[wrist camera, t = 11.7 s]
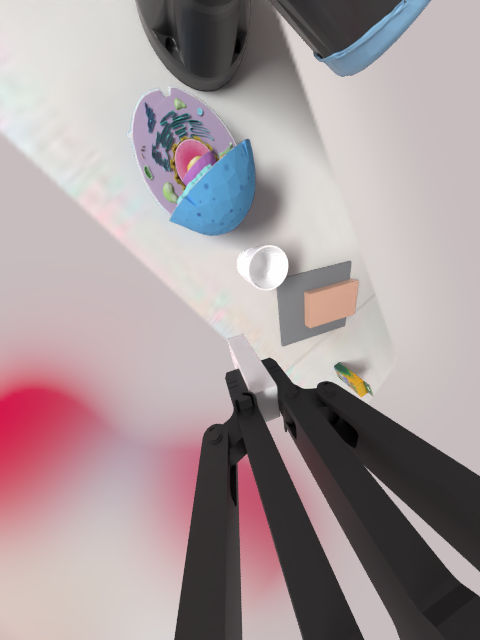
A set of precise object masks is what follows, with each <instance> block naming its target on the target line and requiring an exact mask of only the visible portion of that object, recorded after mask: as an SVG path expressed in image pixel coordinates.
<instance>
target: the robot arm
mask: <svg viewBox="0 0 480 640" xmlns="http://www.w3.org/2000/svg"><path fill="white" fill-rule="evenodd" d="M135 1H136V5H137V9H138V13H139V16H140V20H141V23H142V25H143V28H144V31H145V33H146V35H147V37H148V39H149V42H150V43H151V45H152V47H153V49H154V51H155V52H156V54H157V55H158V57H159V58H160V60H161V61H162V63H163V64H164V65H165V66H166V68H167V69H168V70H169V71H170V72H171V73H172V74H173V75H174V76H175V77H176V78H178V79H179V80H180V81H182V82H183V83H185V84H186V85H188V86H190V87H192V88H195V89H198V90H204V91H209V90H215V89H218V88H220V87H222V86H224V85H225V84H226V83H227V82H229V81H230V79H231V78H232V77H233V76H234V74H235V73H236V71H237V69H238V67H239V64H240V62H241V59H242V56H243V52H244V49H245V45H246V42H247V37H248V31H249V23H250V0H135ZM269 1H270V3H271V4H272V5H273V6H274V7H275V8H276V9H277V11H278V12H279V13H280V14H281V15H282V16H283V17H284V19H285V20H286V21H287V22H288V23H289V24H290V25H291V26H292V28H293V29H294V30H295V31H296V32H297V33H298V34H299V36H300V37H301V38H302V39H303V40H304V41H305V42H306V44H307V45H308V46H309V47H310V48H311V49H312V50H313V53H314V56H315V57H316V59H317V60H319V61H321V62H324V63H325V64H326V65H328V66H329V68H331V70H333V72H334V73H336V74H337V75H339V76H342V77H343V76H349V75H350V76H351V75H354V74H356V73H358V72H360V71H362V70H363V69H365V68H366V67H368V66H369V65H370V64H372V63H373V62H374V61H375V60H377V59H378V58H379V57H380V56H381V55H382V54H383V53H384V52H385V51H386V50H387V49H388V48H389V47H390V46H391V45H392V44H393V43H394V42H396V41H397V39H398V38H399V37H400V36H401V35H402V34H403V33H404V32H405V31H406V30H407V29H408V27H409V26H410V25H411V24H412V23H413V22H414V20H415V19H416V18H417V17H418V16H419V15H420V13H421V12H422V11H423V10H424V9H425V7H426V6H427V5H428V3H429V2H430V1H431V0H269ZM228 343H229V347H230V351H231V355H232V360H233V363H234V366H235V368H236V370H233V371H230V372H227V373H226V378H225V379H226V383H227V386H228V389H229V393H230V397H231V400H232V403H233V407H234V412H233V414H232V416H231V418H230V419H229V420H228V421H227V422H225V423H224V424H223V425H222V424H214V425H212V426H210V427H209V428H208V429H207V430H206V432H205V433H204V436H203V441H202V447H201V455H200V461H199V469H198V476H197V483H196V491H195V497H194V504H193V511H192V518H191V526H190V532H189V539H188V546H187V554H186V561H185V568H184V575H183V582H182V590H181V596H180V603H179V610H178V618H177V625H176V632H175V639H174V640H242V612H241V578H240V577H241V576H240V575H241V574H240V539H239V503H238V471H237V470H238V468H237V467H238V466H237V463H238V462H239V461H240V459H242V458H243V457H244V456H245V455H246V454H248V458H249V461H250V464H251V468H252V471H253V475H254V477H255V481H256V485H257V488H258V491H259V495H260V498H261V501H262V505H263V508H264V511H265V514H266V518H267V521H268V524H269V528H270V531H271V535H272V538H273V541H274V545H275V548H276V552H277V555H278V558H279V562H280V565H281V568H282V572H283V575H284V578H285V582H286V585H287V588H288V592H289V595H290V598H291V602H292V605H293V608H294V612H295V615H296V618H297V622H298V625H299V629H300V632H301V635H302V639H303V640H364V638H363V636H362V634H361V632H360V629H359V627H358V625H357V623H356V621H355V618H354V616H353V614H352V612H351V610H350V607H349V605H348V603H347V601H346V599H345V596H344V594H343V592H342V590H341V588H340V586H339V583H338V581H337V579H336V577H335V574H334V572H333V570H332V568H331V566H330V564H329V561H328V559H327V557H326V555H325V552H324V550H323V548H322V546H321V544H320V541H319V539H318V537H317V535H316V533H315V530H314V528H313V526H312V524H311V522H310V520H309V517H308V515H307V513H306V511H305V509H304V506H303V504H302V502H301V500H300V497H299V495H298V493H297V491H296V489H295V486H294V484H293V482H292V480H291V478H290V475H289V473H288V471H287V469H286V467H285V464H284V462H283V460H282V458H281V456H280V453H279V451H278V449H277V447H276V445H275V442H274V440H273V438H272V436H271V434H270V431H269V429H268V427H267V425H266V423H265V422H267V421H270V420H272V419H275V418H277V417H280V412H281V414H282V416H283V419H284V428H285V432H287V429H288V431H289V433H290V435H291V437H292V438H293V440H294V442H295V444H296V446H297V447H298V449H299V451H300V453H301V455H302V457H303V458H304V460H305V462H306V464H307V466H308V468H309V469H310V471H311V473H312V475H313V477H314V478H315V480H316V482H317V484H318V485H319V487H320V489H321V491H322V493H323V494H324V497H325V498H326V500H327V502H328V504H329V506H330V507H331V509H332V511H333V513H334V515H335V516H336V518H337V520H338V522H339V524H340V526H341V527H342V529H343V531H344V533H345V535H346V536H347V538H348V540H349V542H350V544H351V546H352V547H353V549H354V551H355V553H356V554H357V556H358V558H359V560H360V562H361V564H362V565H363V567H364V569H365V571H366V573H367V575H368V576H369V578H370V580H371V582H372V584H373V585H374V587H375V589H376V591H377V593H378V595H379V596H380V598H381V600H382V602H383V604H384V605H385V607H386V609H387V611H388V613H389V615H390V617H391V618H392V620H393V623H394V625H395V627H396V629H397V632H398V635H399V638H400V640H480V597H479V596H478V595H477V594H475V593H474V592H473V591H471V590H470V589H469V588H467V587H466V586H464V585H463V584H461V583H460V582H459V581H458V580H457V579H456V578H455V577H454V576H453V575H452V574H451V573H450V571H449V570H448V569H447V568H446V567H445V565H444V564H443V563H442V562H441V560H440V559H439V558H438V557H437V555H436V554H435V553H434V552H433V551H432V549H431V548H430V547H429V546H428V545H427V543H426V542H425V541H424V539H423V538H422V537H421V536H420V534H419V533H418V532H417V531H416V530H415V528H414V527H413V526H412V525H411V523H410V522H409V521H408V520H407V518H406V517H405V516H404V515H403V513H402V512H401V511H400V510H399V508H398V507H397V506H396V505H395V504H394V502H393V501H392V500H391V499H390V497H389V496H388V495H387V494H386V493H385V491H384V490H383V489H382V487H381V486H380V485H379V484H378V483H377V481H376V480H375V479H374V478H373V477H372V475H371V474H370V473H369V472H368V470H367V469H369V470H370V471H371V472H372V473H373V474H374V475H375V476H376V477H377V478H378V479H379V480H381V481H382V482H383V483H384V484H385V485H386V486H387V487H388V488H389V489H390V490H391V491H393V492H394V493H395V494H396V495H397V496H398V497H399V498H400V499H401V500H402V501H403V502H405V503H406V504H407V505H408V506H409V507H410V508H411V509H412V510H413V511H414V512H415V513H417V514H418V515H419V516H420V517H421V518H422V519H423V520H424V521H425V522H426V523H427V524H428V525H430V526H431V527H432V528H433V529H434V530H435V531H436V532H437V533H438V534H439V535H440V536H441V537H443V538H444V539H445V540H446V541H447V542H448V543H449V544H450V545H451V546H452V547H453V548H455V549H456V550H457V551H458V552H459V553H460V554H461V555H462V556H463V557H465V559H467V560H468V561H469V562H470V563H471V564H472V565H473V566H474V567H475V568H476V569H477V570H479V571H480V476H479V475H477V474H476V473H474V472H472V471H471V470H469V469H468V468H466V467H465V466H463V465H462V464H460V463H458V462H457V461H455V460H454V459H452V458H451V457H449V456H447V455H446V454H444V453H443V452H441V451H440V450H438V449H436V448H435V447H433V446H432V445H430V444H429V443H427V442H426V441H424V440H422V439H421V438H419V437H418V436H416V435H415V434H413V433H412V432H410V431H408V430H407V429H405V428H404V427H402V426H401V425H399V424H398V423H396V422H394V421H393V420H391V419H390V418H388V417H387V416H385V415H383V414H382V413H380V412H379V411H377V410H376V409H374V408H373V407H371V406H369V405H368V404H366V403H365V402H363V401H362V400H360V399H359V398H357V397H355V396H354V395H352V394H351V393H349V392H348V391H346V390H345V389H343V388H341V387H340V386H338V385H337V384H335V383H333V382H328V381H324V382H321V383H319V384H318V385H317V388H313V389H303V388H300V387H299V386H297V385H295V384H293V383H292V382H291V380H290V379H289V378H288V376H287V375H286V374H285V373H284V371H283V370H282V369H281V367H280V366H279V365H278V364H277V362H276V361H275V360H273V359H271V358H267V359H264V360H260V359H259V357H258V356H257V354H256V353H255V351H254V350H253V348H252V347H251V345H250V344H249V342H248V340H247V339H246V337H245V336H244V334H242V335H238V336H235V337H232V338H228ZM365 467H366V468H367V469H366V468H365Z"/></svg>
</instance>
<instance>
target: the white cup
mask: <svg viewBox="0 0 480 640" xmlns="http://www.w3.org/2000/svg"><path fill="white" fill-rule="evenodd" d="M237 268H238V272H239V273H240V274H241V275H242V277H244V278H245V279H246V280H247V281H248V282H249V283H251V284H252V285H254V286H255V287H256V288H258V289H260V290H264V291H268V290H273V289H275V288H277V287H278V286H279V285H280V284H281V283H282V282H283V281H284V279H285V278H286V275H287V272H288V259H287V256H286V254H285V253H284V251H283V250H282V249H280V248H279V247H277V246H273V245H267V246H258V247H253V248H249V249H246V250H244V251H243V252H241V254H240V255H239V257H238V260H237Z"/></svg>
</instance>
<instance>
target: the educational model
mask: <svg viewBox="0 0 480 640" xmlns="http://www.w3.org/2000/svg"><path fill="white" fill-rule="evenodd" d="M127 137H128V138H129V139H130V140H131V142H132V146H133V150H134V154H135V158H136V162H137V164H138V167H139V170H140V173H141V175H142V177H143V179H144V181H145V183H146V185H147V187H148V189H149V191H150V192H151V194H152V195H153V197H154V198H155V199H156V201H157V202H158V203H159V205H160V206H161V207H162V208H163V209H164V210H165V211H166V212H167V213H168V214H169V215H170V216H171V218H170V220H169V221H171V222H174V223H176V224H179V225H181V226H184V227H186V228H188V229H191V230H193V231H195V232H198V233H201V234H204V235H210V236H212V235H220V234H224V233H227V232H229V231H232V230H233V229H234V228H236V227H237V226H238V225H239V224H240V223H241V222H242V220H243V219H244V217H245V216H246V214H247V212H248V211H249V209H250V206H251V204H252V201H253V197H254V192H255V167H254V159H253V152H252V148H251V144H250V140H249V139H246V140H244V141H242V142H241V143H239V144H238V145H237V144H236V142H235V140H234V138H233V136H232V135H231V133H230V131H229V130H228V128H227V126H226V125H225V124H224V122H223V121H222V120H221V118H220V117H219V116H218V115H217V114H216V113H215V112H214V111H213V110H212V109H211V108H210V107H209V106H208V105H207V104H206V103H204V102H203V101H202V100H201V99H199V98H198V97H196V96H194V95H193V94H191V93H189V92H187V91H185V90H183V89H181V88H179V87H175V86H169V94H168V95H165V94H164V93H163V92H162V91H161V89H160V88H156V89H153V90H150V91H148V92H147V93H145V94H143V96H142V97H141V98H140V99H139V101H138V102H137V104H136V107H135V109H134V112H133V116H132V123H131V129H130V132H128V133H127Z"/></svg>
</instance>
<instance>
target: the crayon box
mask: <svg viewBox="0 0 480 640" xmlns="http://www.w3.org/2000/svg"><path fill="white" fill-rule="evenodd" d="M334 368H335V370H336V372H337V374H338V376H339V378H340V379H341V380H342V381H343V382H345V383H346V384H347V385H348V386H349V387H350V388H351V389H353V390H354V391H355V392H356V393H357V394H358V395H359V396H361V397H363V396H364V395H365V394H367V393H370V394H371V395H372V396H373V393H372V391H371V388H370V385H369V384H367V383H366V382H365V381H363V380H362V379H361V378H359V377H358V376H357V375H355V374H354V373H353V372H352V371H350V370H349V369H348V368H347V367H345V366H344V365H343V364H341V363H340V362H339V363H338V364H337V365H335V366H334ZM367 386H368V387H369V389H370V391H369V390H368V388H367ZM373 397H374V396H373Z"/></svg>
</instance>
